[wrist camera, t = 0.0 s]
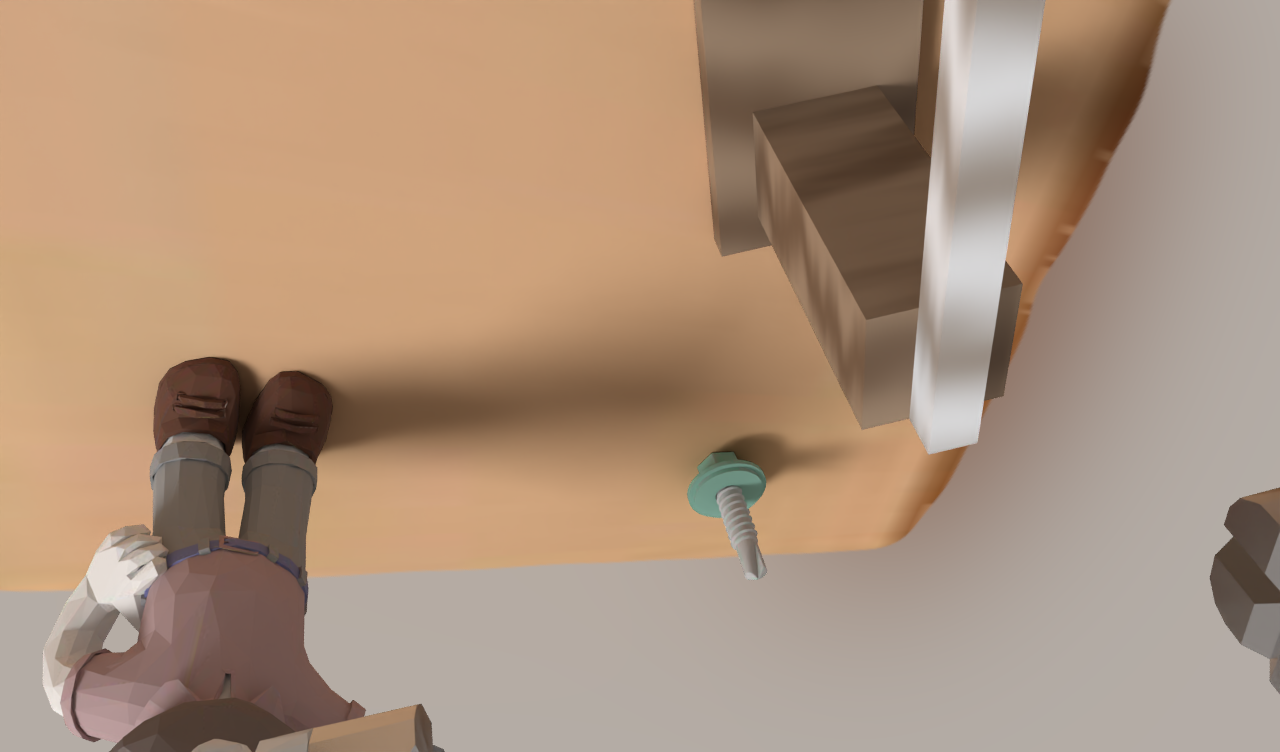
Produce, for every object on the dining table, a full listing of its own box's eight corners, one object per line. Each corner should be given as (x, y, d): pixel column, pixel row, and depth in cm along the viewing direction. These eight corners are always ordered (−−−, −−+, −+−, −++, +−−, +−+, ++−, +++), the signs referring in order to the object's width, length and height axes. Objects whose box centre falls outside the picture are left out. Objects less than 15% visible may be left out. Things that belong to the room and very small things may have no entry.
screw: (664, 477, 69) (715, 427, 67) (721, 499, 72) (772, 452, 70) (699, 593, 63) (756, 543, 61) (759, 613, 66) (816, 565, 63)
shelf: (651, -482, 36) (838, -377, 23) (942, -535, 36) (1287, -462, 23) (714, 239, 57) (830, 509, 44) (897, 198, 57) (1065, 452, 44)
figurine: (466, 392, 61) (540, 960, 39) (417, 501, 66) (459, 1054, 45) (107, 330, 53) (-40, 993, 32) (85, 459, 58) (-55, 1101, 37)
